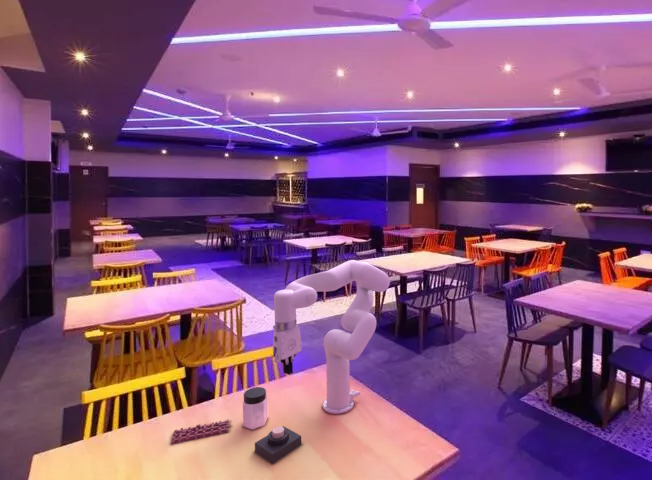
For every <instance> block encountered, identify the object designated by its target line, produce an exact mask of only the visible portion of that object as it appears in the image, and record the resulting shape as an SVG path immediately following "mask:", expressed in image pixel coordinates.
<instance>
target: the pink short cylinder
mask: <svg viewBox="0 0 652 480" xmlns="http://www.w3.org/2000/svg"><path fill="white" fill-rule="evenodd" d="M271 431H272V437H273V438H276V439H278V438H281V437H283V436H284V428H283V427H282V426H281V425H279V426H276V427H273V428H272V430H271Z"/></svg>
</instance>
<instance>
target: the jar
mask: <svg viewBox="0 0 652 480" xmlns="http://www.w3.org/2000/svg"><path fill="white" fill-rule="evenodd" d="M267 420H268V395H267V389H266V388H264V387H262V386H255V387H251V388H249V389H247V390H245V391H244V392H243V402H242V426H243V427H244V428H247V429H250V430H255V429H258V428H261V427H264V426H265V424H266V422H267Z"/></svg>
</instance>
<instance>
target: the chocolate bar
mask: <svg viewBox="0 0 652 480" xmlns="http://www.w3.org/2000/svg"><path fill="white" fill-rule="evenodd" d="M229 422H230V420H229V419H226V420H224V421H222V420H219V421H215V422H214V421H213V422H211V423H209V424H207V423H204V424H203V425H201V423H199V424H196V425H195V426H193V427H191V426H189V427H188V428H184V427H180V430H179V429H174V432H173V437H172V438H171V439H172V441H171V445H176V444H180V443H184V442H190V441H193V440H199V439H204V438H209V437H214V436H217V435H218V436H219V435H222V434H228V433H229V428H231V425H230V424H229Z"/></svg>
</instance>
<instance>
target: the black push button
mask: <svg viewBox="0 0 652 480" xmlns="http://www.w3.org/2000/svg"><path fill="white" fill-rule="evenodd" d="M281 427H283V428H284V436H283V437H281V438H278V439H276V438H273V437H272V430H271V431H269V433H268V434H267V435H265V436H263V437H262V438H261V439H259V440H257V441H256V442H254V453H256V454H257V455H259V456H260V457H262V458H264V459H265V460H267V461H268V462H270V463H271V464H275V463H277V462H278V461H280V460H281V459H282V458H284V457H285V456H287V455H288V454H290V453H292V452H293V451H295V449H297V448H299V447H300V446H301V445H302V435H301V434H298V433H297V432H295V431H293V430H291V428H288V427H286V426H284V425H282V426H281Z"/></svg>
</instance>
